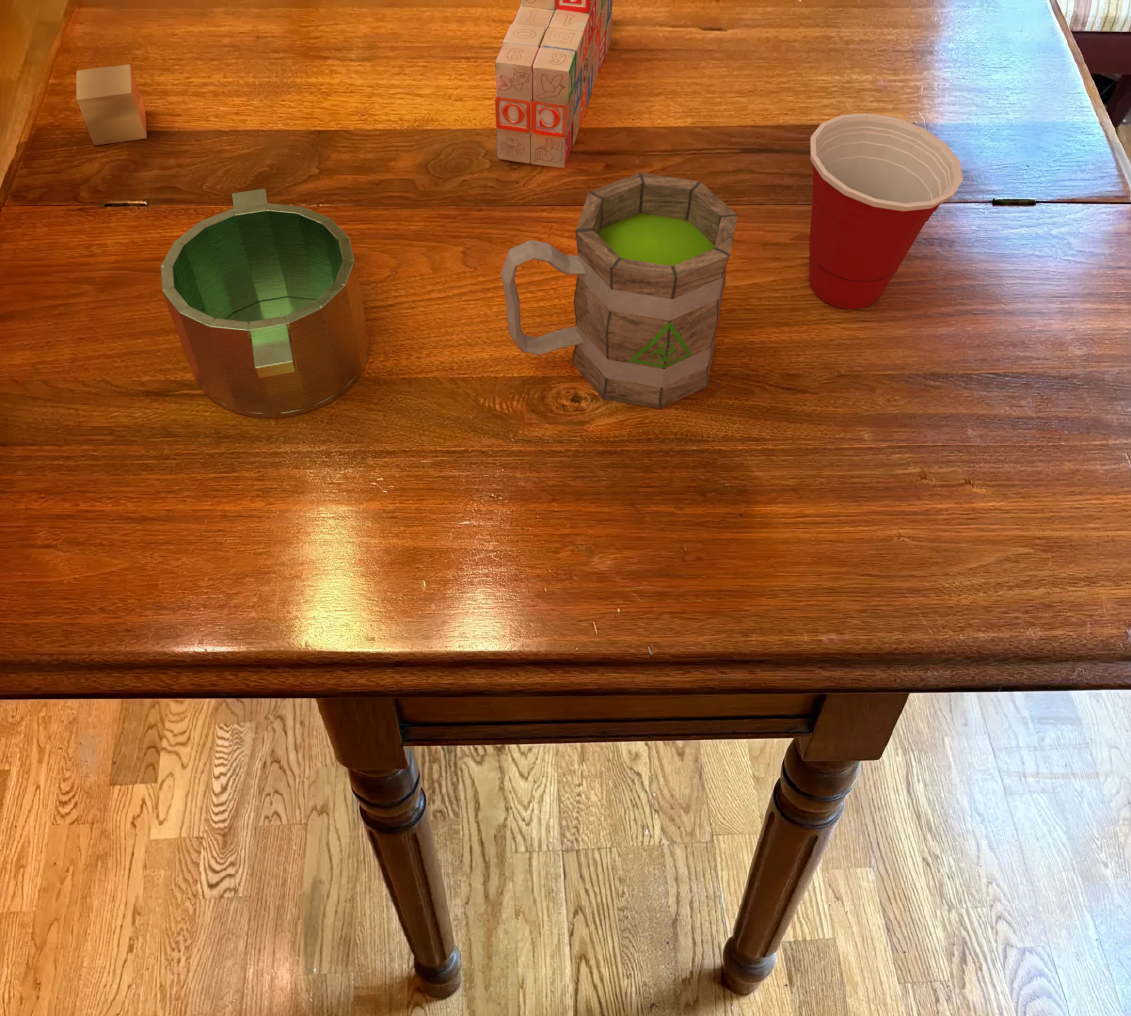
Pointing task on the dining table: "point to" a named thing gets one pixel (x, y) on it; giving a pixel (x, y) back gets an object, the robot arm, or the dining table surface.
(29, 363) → the dining table surface
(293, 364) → the pot
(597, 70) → the stack of blocks
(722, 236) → the mug
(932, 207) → the plastic cup
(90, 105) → the block
